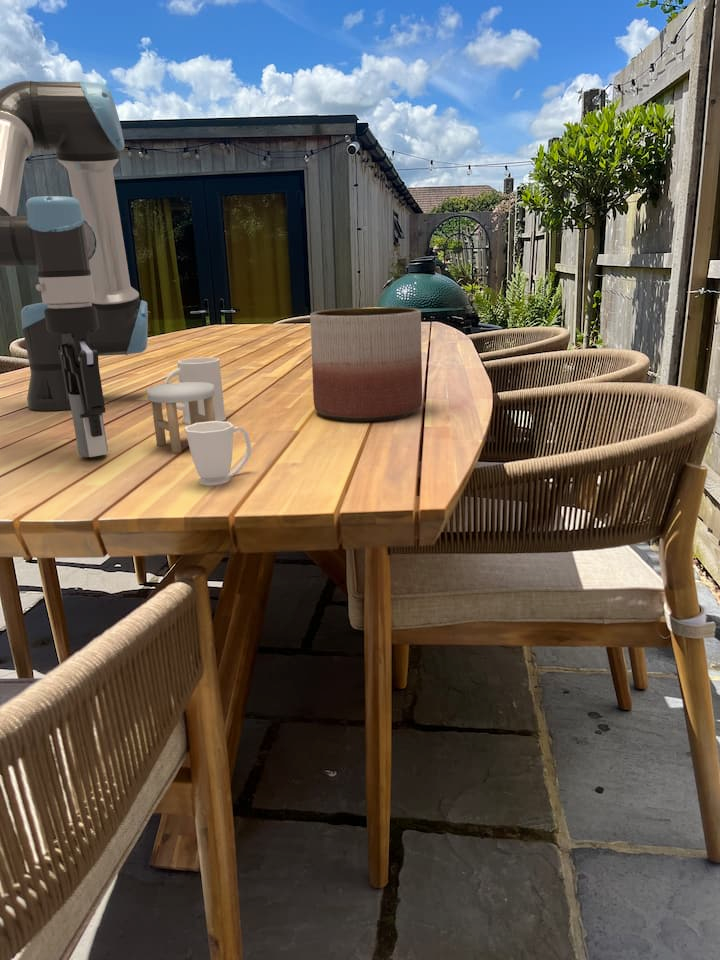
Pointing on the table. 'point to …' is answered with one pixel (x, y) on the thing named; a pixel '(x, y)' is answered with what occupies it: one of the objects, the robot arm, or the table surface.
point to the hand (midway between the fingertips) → (93, 451)
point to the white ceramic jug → (201, 372)
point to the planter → (366, 362)
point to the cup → (214, 450)
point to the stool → (172, 396)
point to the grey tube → (80, 423)
